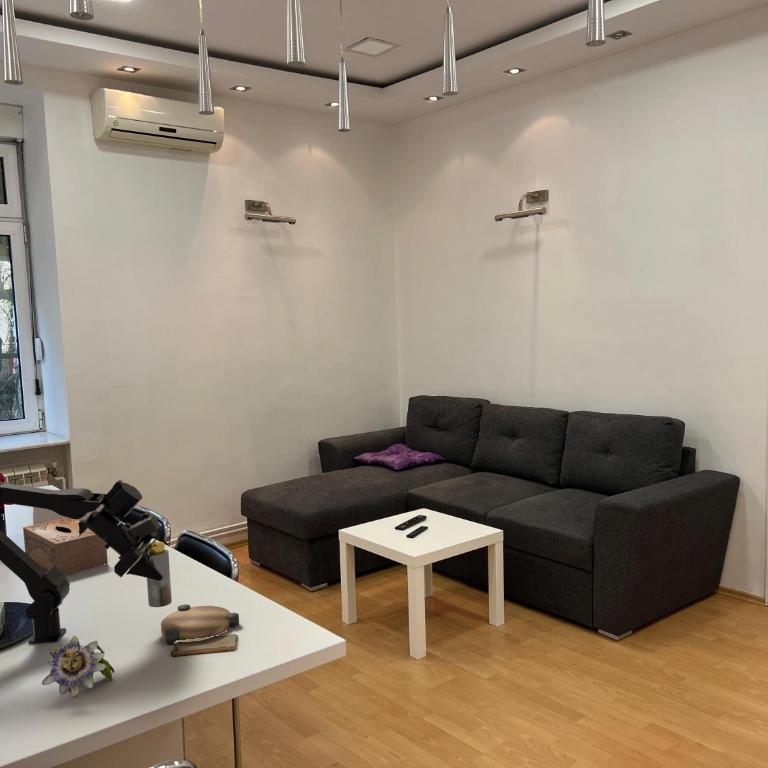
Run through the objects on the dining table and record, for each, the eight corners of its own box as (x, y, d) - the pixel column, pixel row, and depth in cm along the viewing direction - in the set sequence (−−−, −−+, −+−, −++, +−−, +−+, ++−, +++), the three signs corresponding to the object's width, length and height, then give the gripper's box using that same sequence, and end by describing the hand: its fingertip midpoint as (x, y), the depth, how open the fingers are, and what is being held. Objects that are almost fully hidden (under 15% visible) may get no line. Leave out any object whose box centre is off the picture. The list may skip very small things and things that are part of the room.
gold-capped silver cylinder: (161, 608, 177) (157, 548, 175) (143, 605, 179) (139, 546, 177) (176, 600, 181) (172, 542, 180) (159, 597, 184) (155, 539, 182)
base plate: (234, 640, 173) (234, 630, 173) (153, 646, 172) (153, 635, 172) (243, 610, 191) (242, 600, 190) (169, 614, 189) (169, 605, 189)
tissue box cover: (25, 559, 238) (22, 527, 237) (72, 547, 248) (70, 516, 247) (58, 578, 219) (55, 544, 218) (107, 564, 229) (105, 532, 228)
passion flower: (77, 721, 152) (34, 687, 146) (74, 687, 161) (34, 654, 156) (125, 682, 154) (84, 647, 148) (119, 651, 163) (81, 616, 158)
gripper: (125, 516, 168) (180, 563, 170) (145, 495, 187) (194, 537, 188) (90, 554, 168) (146, 600, 170) (114, 529, 187) (163, 570, 189)
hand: (164, 575), depth 179 cm, fingers closed on gold-capped silver cylinder, 5 cm apart
